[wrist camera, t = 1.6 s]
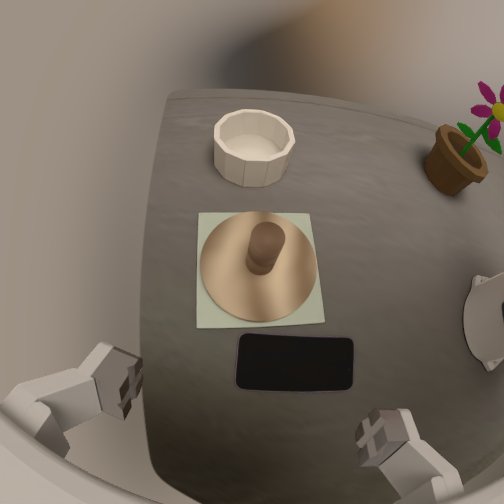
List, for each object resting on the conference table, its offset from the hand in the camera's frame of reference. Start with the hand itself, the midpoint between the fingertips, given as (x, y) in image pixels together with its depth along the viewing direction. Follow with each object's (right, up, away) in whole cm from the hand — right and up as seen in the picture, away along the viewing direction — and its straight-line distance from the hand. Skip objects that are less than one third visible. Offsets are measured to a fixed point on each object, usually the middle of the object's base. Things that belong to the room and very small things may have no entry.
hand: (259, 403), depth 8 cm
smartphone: (+5, -9, +24) cm, 27 cm away
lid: (+1, +3, +28) cm, 28 cm away
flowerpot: (+42, +22, +42) cm, 63 cm away
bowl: (0, +20, +36) cm, 42 cm away
